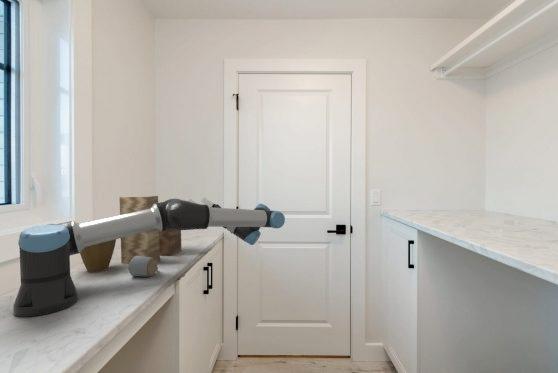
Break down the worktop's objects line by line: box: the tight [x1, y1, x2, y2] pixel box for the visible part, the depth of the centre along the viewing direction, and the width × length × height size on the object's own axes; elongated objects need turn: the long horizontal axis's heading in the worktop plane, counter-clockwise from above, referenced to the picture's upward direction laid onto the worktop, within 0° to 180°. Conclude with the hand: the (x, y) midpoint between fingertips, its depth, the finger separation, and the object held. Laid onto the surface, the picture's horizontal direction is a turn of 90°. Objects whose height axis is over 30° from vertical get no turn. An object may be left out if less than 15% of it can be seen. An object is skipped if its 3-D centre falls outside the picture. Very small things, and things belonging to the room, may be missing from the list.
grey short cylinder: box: [128, 256, 159, 278], centre depth 116 cm, size 11×8×8 cm
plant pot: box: [79, 239, 117, 273], centre depth 124 cm, size 15×15×16 cm
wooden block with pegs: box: [159, 228, 182, 257], centre depth 151 cm, size 16×11×22 cm, turn 77°
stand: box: [119, 195, 161, 265], centre depth 135 cm, size 14×8×30 cm, turn 77°
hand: (195, 200), depth 146 cm, fingers open, 13 cm apart
